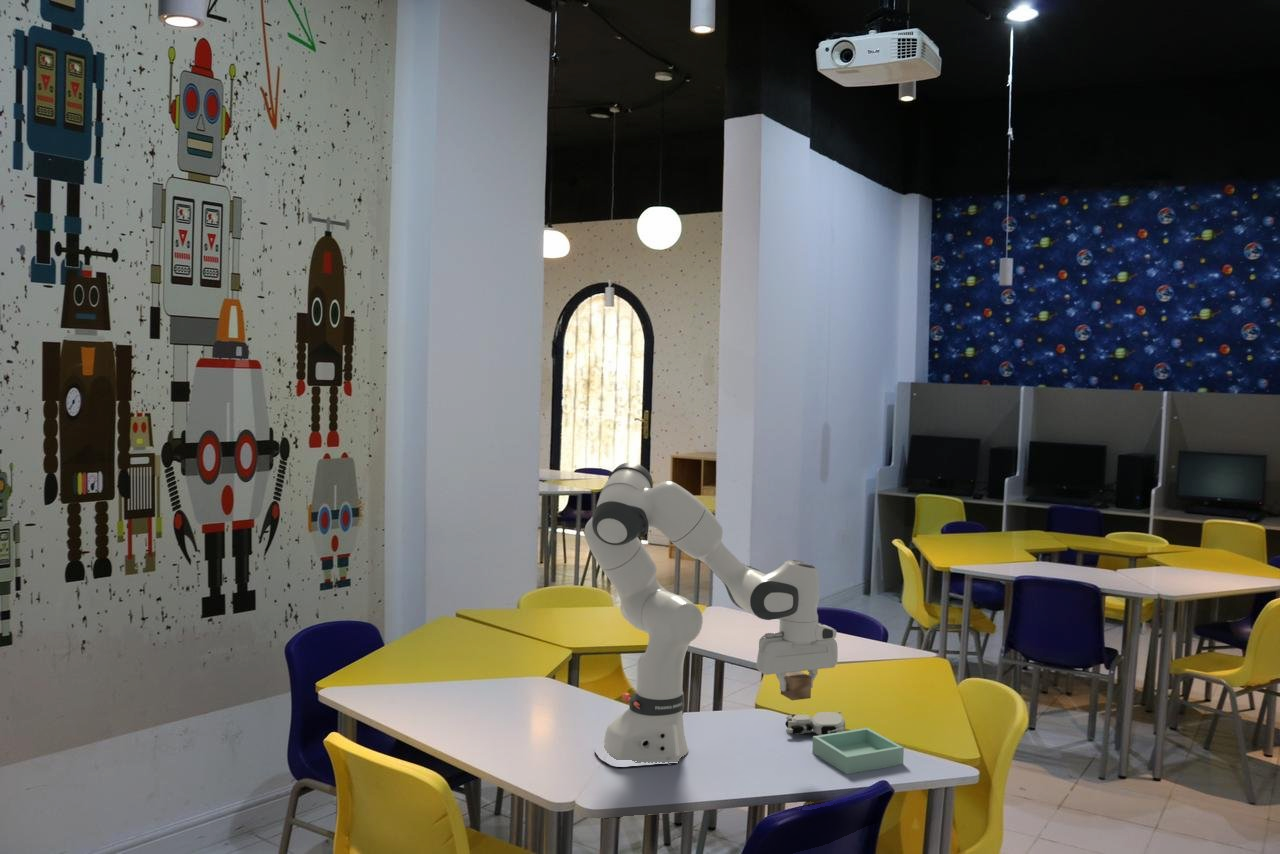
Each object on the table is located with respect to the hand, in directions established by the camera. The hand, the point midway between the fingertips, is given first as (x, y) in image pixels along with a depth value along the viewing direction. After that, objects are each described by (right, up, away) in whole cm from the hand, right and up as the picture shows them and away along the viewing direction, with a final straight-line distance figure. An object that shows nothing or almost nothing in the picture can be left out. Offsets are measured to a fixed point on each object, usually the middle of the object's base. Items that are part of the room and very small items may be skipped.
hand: (796, 689), depth 236 cm
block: (0, -2, 0) cm, 2 cm away
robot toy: (+8, -17, +22) cm, 29 cm away
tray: (+15, -18, +6) cm, 24 cm away
